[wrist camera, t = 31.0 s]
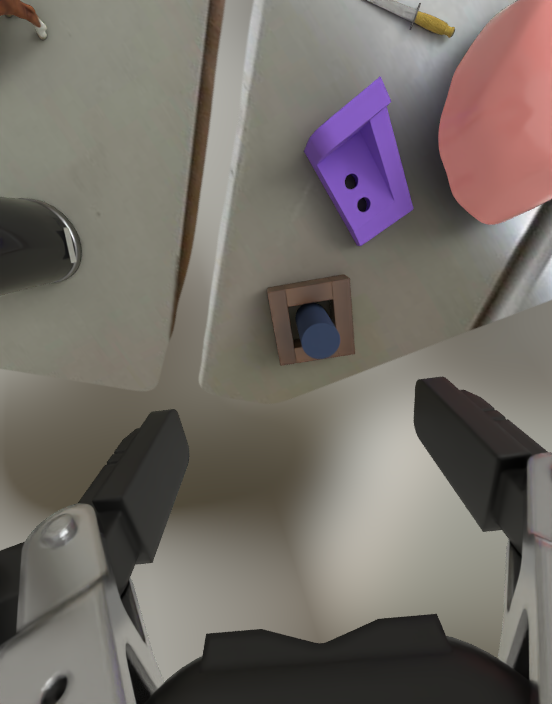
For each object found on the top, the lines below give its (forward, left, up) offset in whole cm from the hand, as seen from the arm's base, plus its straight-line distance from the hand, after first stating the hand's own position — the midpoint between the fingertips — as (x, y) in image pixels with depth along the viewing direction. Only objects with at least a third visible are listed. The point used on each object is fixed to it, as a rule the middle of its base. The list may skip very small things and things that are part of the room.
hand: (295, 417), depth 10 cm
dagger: (+15, +21, -30) cm, 40 cm away
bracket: (+11, +9, -31) cm, 34 cm away
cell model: (+28, +12, -20) cm, 37 cm away
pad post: (+3, -6, -30) cm, 31 cm away
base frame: (+3, -6, -30) cm, 31 cm away
